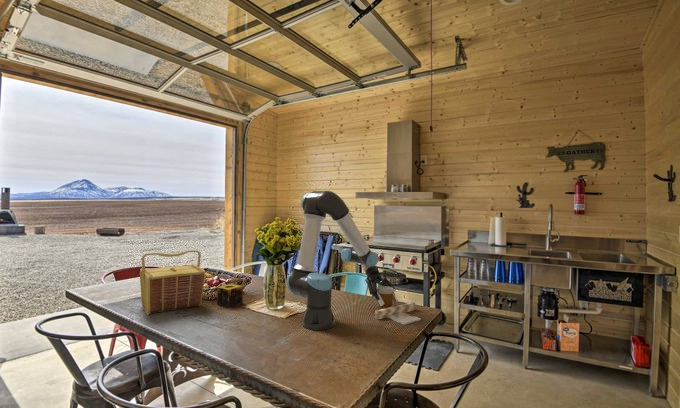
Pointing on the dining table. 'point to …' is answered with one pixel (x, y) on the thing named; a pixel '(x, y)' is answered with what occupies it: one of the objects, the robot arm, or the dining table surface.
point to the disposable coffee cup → (386, 296)
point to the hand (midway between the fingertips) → (389, 303)
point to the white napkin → (404, 318)
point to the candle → (229, 295)
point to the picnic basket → (171, 285)
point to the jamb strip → (394, 310)
